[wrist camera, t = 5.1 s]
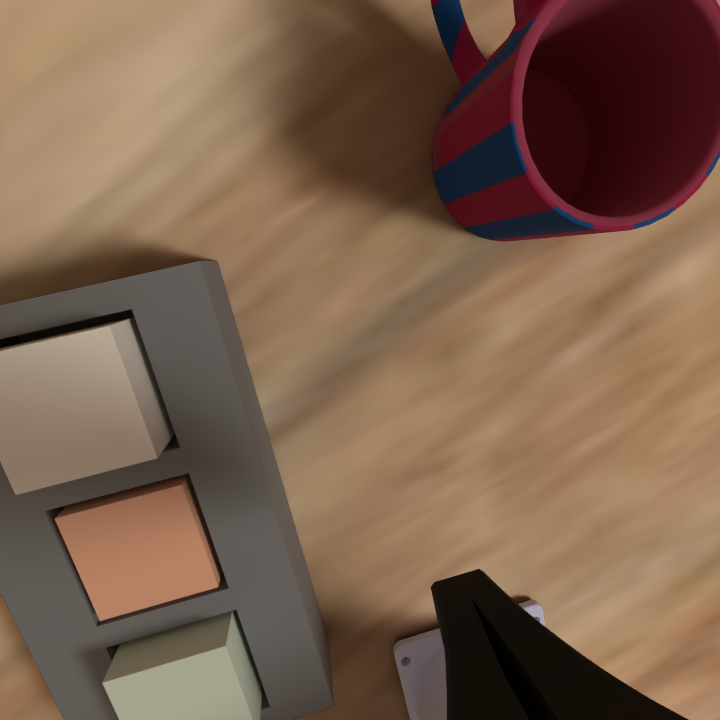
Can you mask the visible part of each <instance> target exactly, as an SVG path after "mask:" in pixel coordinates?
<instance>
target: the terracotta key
mask: <svg viewBox="0 0 720 720" xmlns="http://www.w3.org/2000/svg"><path fill="white" fill-rule="evenodd" d="M55 521H56V523H57V526H58V528H59V530H60V532H61V535H62V537H63V539H64V541H65V544H66V546H67V548H68V550H69V553H70V555H71V557H72V559H73V562H74V564H75V566H76V568H77V571H78V573H79V575H80V577H81V580H82V582H83V584H84V587H85V589H86V591H87V593H88V596H89V598H90V600H91V602H92V605H93V607H94V609H95V611H96V614H97V616H98V618H99V620H100V621H102V620H106V619H109V618H113V617H116V616H120V615H123V614H127V613H130V612H133V611H137V610H140V609H144V608H147V607H151V606H154V605H158V604H161V603H165V602H168V601H172V600H175V599H179V598H182V597H186V596H189V595H193V594H196V593H200V592H203V591H207V590H210V589H214V588H217V587H218V586H219V582H220V578H221V574H222V567H221V564H220V561H219V558H218V555H217V553H216V550H215V547H214V544H213V541H212V538H211V535H210V532H209V530H208V527H207V524H206V521H205V518H204V515H203V512H202V509H201V507H200V504H199V501H198V498H197V495H196V492H195V489H194V486H193V484H192V481H191V478H190V475H189V473H187V474H183V475H180V476H176V477H172V478H168V479H165V480H161V481H157V482H153V483H149V484H146V485H142V486H138V487H134V488H130V489H127V490H123V491H119V492H115V493H111V494H108V495H104V496H100V497H96V498H92V499H89V500H85V501H81V502H77V503H73V504H70V505H67V506H66V507H65V508H64V509H63V510H62V511H61V512H60V513H59V514H58V515H57V516H56V518H55Z"/></svg>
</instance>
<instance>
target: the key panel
mask: <svg viewBox="0 0 720 720" xmlns="http://www.w3.org/2000/svg"><path fill="white" fill-rule="evenodd" d="M132 317H135V320H136V323H137V326H138V329H139V331H140V334H141V337H142V340H143V343H144V346H145V349H146V351H147V354H148V357H149V360H150V363H151V366H152V369H153V372H154V374H155V377H156V380H157V383H158V386H159V389H160V392H161V395H162V397H163V400H164V403H165V406H166V409H167V412H168V415H169V418H170V420H171V423H172V426H173V429H174V432H175V434H174V436H173V437H172V438H171V440H170V441H169V443H168V444H167V446H166V447H165V448H164V450H163V451H162V453H161V454H160V456H159V457H158V458H157V459H153V460H149V461H145V462H142V463H138V464H134V465H130V466H126V467H122V468H118V469H115V470H111V471H107V472H103V473H99V474H95V475H91V476H88V477H84V478H80V479H76V480H72V481H68V482H64V483H61V484H57V485H53V486H49V487H45V488H41V489H37V490H33V491H30V492H26V493H22V494H18V495H15V493H14V490H13V488H12V486H11V484H10V482H9V480H8V477H7V475H6V473H5V471H4V469H3V467H2V464H1V462H0V593H1V595H2V597H3V599H4V601H5V603H6V605H7V607H8V609H9V611H10V613H11V615H12V617H13V619H14V621H15V623H16V625H17V627H18V629H19V631H20V633H21V635H22V637H23V639H24V641H25V643H26V645H27V647H28V649H29V651H30V653H31V655H32V657H33V659H34V661H35V663H36V665H37V667H38V669H39V671H40V673H41V675H42V677H43V679H44V681H45V683H46V685H47V687H48V689H49V691H50V693H51V695H52V697H53V699H54V701H55V703H56V705H57V707H58V709H59V711H60V713H61V715H62V717H63V719H64V720H119V718H118V716H117V714H116V712H115V710H114V707H113V705H112V703H111V701H110V699H109V697H108V694H107V692H106V690H105V688H104V686H103V684H102V682H103V680H104V678H105V676H106V674H107V671H108V669H109V667H110V665H111V663H112V661H113V658H114V656H115V654H116V652H117V650H118V647H119V645H120V643H124V642H127V641H131V640H134V639H138V638H141V637H144V636H148V635H151V634H155V633H158V632H162V631H165V630H168V629H172V628H175V627H179V626H182V625H185V624H189V623H192V622H196V621H199V620H203V619H206V618H209V617H213V616H216V615H220V614H223V613H226V612H230V611H233V610H237V613H238V616H239V619H240V621H241V624H242V627H243V630H244V633H245V636H246V639H247V642H248V644H249V647H250V650H251V653H252V656H253V659H254V662H255V665H256V667H257V670H258V673H259V676H260V679H261V682H262V685H263V688H262V701H261V713H260V720H294V719H297V718H300V717H303V716H306V715H310V714H313V713H316V712H319V711H322V710H325V709H328V708H332V707H334V699H333V687H332V676H331V664H330V652H329V641H328V637H327V634H326V631H325V627H324V624H323V620H322V617H321V613H320V610H319V607H318V603H317V600H316V596H315V593H314V590H313V586H312V583H311V579H310V576H309V572H308V569H307V566H306V562H305V559H304V555H303V552H302V548H301V545H300V542H299V538H298V535H297V531H296V528H295V525H294V521H293V518H292V514H291V511H290V507H289V504H288V501H287V497H286V494H285V490H284V487H283V484H282V480H281V477H280V473H279V470H278V466H277V463H276V460H275V456H274V453H273V449H272V446H271V442H270V439H269V436H268V432H267V429H266V425H265V422H264V419H263V415H262V412H261V408H260V405H259V401H258V398H257V395H256V391H255V388H254V384H253V381H252V378H251V374H250V371H249V367H248V364H247V360H246V357H245V354H244V350H243V347H242V343H241V340H240V337H239V333H238V330H237V326H236V323H235V319H234V316H233V313H232V309H231V306H230V302H229V299H228V295H227V292H226V289H225V285H224V282H223V278H222V275H221V272H220V268H219V265H218V261H197V262H193V263H188V264H184V265H179V266H175V267H170V268H166V269H161V270H157V271H152V272H148V273H143V274H139V275H134V276H130V277H125V278H121V279H116V280H112V281H107V282H103V283H98V284H94V285H89V286H85V287H80V288H76V289H71V290H67V291H62V292H58V293H53V294H49V295H45V296H40V297H36V298H31V299H27V300H22V301H18V302H13V303H9V304H4V305H0V348H2V347H7V346H11V345H15V344H20V343H24V342H28V341H33V340H37V339H41V338H46V337H50V336H54V335H59V334H63V333H67V332H72V331H76V330H80V329H85V328H89V327H93V326H98V325H102V324H106V323H111V322H115V321H119V320H124V319H128V318H132ZM187 473H189V475H190V478H191V481H192V484H193V486H194V489H195V492H196V495H197V498H198V501H199V504H200V507H201V509H202V512H203V515H204V518H205V521H206V524H207V527H208V530H209V532H210V535H211V538H212V541H213V544H214V547H215V550H216V553H217V555H218V558H219V561H220V564H221V567H222V574H221V578H220V582H219V586H218V587H217V588H214V589H210V590H207V591H203V592H200V593H196V594H193V595H189V596H186V597H182V598H179V599H175V600H172V601H168V602H165V603H161V604H158V605H154V606H151V607H147V608H144V609H140V610H137V611H133V612H130V613H127V614H123V615H120V616H116V617H113V618H109V619H106V620H102V621H100V620H99V618H98V616H97V614H96V611H95V609H94V607H93V605H92V602H91V600H90V598H89V596H88V593H87V591H86V589H85V587H84V584H83V582H82V580H81V577H80V575H79V573H78V571H77V568H76V566H75V564H74V562H73V559H72V557H71V555H70V553H69V550H68V548H67V546H66V544H65V541H64V539H63V537H62V535H61V532H60V530H59V528H58V526H57V523H56V521H55V518H56V516H57V515H58V514H59V513H60V512H61V511H62V510H63V509H64V508H65V507H66V506H67V505H70V504H73V503H77V502H81V501H85V500H89V499H92V498H96V497H100V496H104V495H108V494H111V493H115V492H119V491H123V490H127V489H130V488H134V487H138V486H142V485H146V484H149V483H153V482H157V481H161V480H165V479H168V478H172V477H176V476H180V475H183V474H187Z"/></svg>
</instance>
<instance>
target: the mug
mask: <svg viewBox="0 0 720 720" xmlns="http://www.w3.org/2000/svg"><path fill="white" fill-rule="evenodd" d="M513 3H514V14H515V22H516V24H515V26H514V28H513V30H512V32H511V33H510V35H509V37H508V38H507V39H506V40H505V41H504V43H503V44H502V45H501V46H500V47H499V48H498V49H497V50H496V51H495V52H494V53H493V54H492V55H491V56H490V57H489V58H488V59H487V60H486V59H485V57H484V56H483V55H482V53H481V52H480V50H479V49H478V47H477V45H476V43H475V41H474V39H473V37H472V35H471V33H470V31H469V29H468V26H467V23H466V21H465V18H464V15H463V12H462V8H461V4H460V1H459V0H431V5H432V10H433V14H434V17H435V21H436V24H437V27H438V30H439V34H440V37H441V39H442V42H443V44H444V47H445V49H446V52H447V54H448V56H449V59H450V61H451V63H452V66H453V68H454V70H455V72H456V74H457V76H458V77H459V79H460V81H461V82H462V83H461V86H460V89H459V90H458V91H457V93H456V94H455V95H454V96H453V97H452V99H451V100H450V102H449V103H448V105H447V107H446V108H445V110H444V112H443V114H442V116H441V118H440V121H439V123H438V126H437V129H436V133H435V137H434V142H433V152H432V162H433V173H434V178H435V183H436V187H437V189H438V192H439V194H440V197H441V199H442V201H443V203H444V204H445V206H446V208H447V209H448V211H449V212H450V213H451V215H452V216H453V217H454V218H455V219H456V220H457V221H458V222H459V223H460V224H461V225H462V226H464V227H465V228H466V229H468V230H469V231H471V232H473V233H475V234H476V235H478V236H480V237H484V238H487V239H490V240H495V241H516V240H528V239H539V238H550V237H561V236H572V235H583V234H594V233H606V232H616V231H626V230H633V229H636V228H640V227H643V226H646V225H650V224H652V223H654V222H656V221H658V220H660V219H662V218H664V217H666V216H668V215H669V214H670V213H672V212H673V211H674V210H676V209H677V208H679V207H680V206H681V205H683V204H684V203H685V202H686V201H687V200H688V199H689V198H690V197H691V196H692V195H693V194H694V193H695V192H696V191H697V190H698V189H699V188H700V187H701V185H702V184H703V182H704V181H705V180H706V178H707V177H708V176H709V174H710V173H711V172H712V170H713V168H714V167H715V165H716V163H717V161H718V159H719V157H720V6H719V5H718V3H717V1H716V0H513Z"/></svg>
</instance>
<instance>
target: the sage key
mask: <svg viewBox="0 0 720 720" xmlns="http://www.w3.org/2000/svg"><path fill="white" fill-rule="evenodd" d="M102 684H103V686H104V688H105V690H106V692H107V694H108V697H109V699H110V701H111V703H112V705H113V707H114V710H115V712H116V714H117V716H118V718H119V720H260V713H261V701H262V688H263V685H262V682H261V679H260V676H259V673H258V670H257V667H256V665H255V662H254V659H253V656H252V653H251V650H250V647H249V644H248V642H247V639H246V636H245V633H244V630H243V627H242V624H241V621H240V619H239V616H238V613H237V610H233V611H230V612H226V613H223V614H220V615H216V616H213V617H209V618H206V619H203V620H199V621H196V622H192V623H189V624H185V625H182V626H179V627H175V628H172V629H168V630H165V631H162V632H158V633H155V634H151V635H148V636H144V637H141V638H138V639H134V640H131V641H127V642H124V643H120V645H119V647H118V650H117V652H116V654H115V656H114V658H113V661H112V663H111V665H110V667H109V669H108V671H107V674H106V676H105V678H104V680H103V682H102Z"/></svg>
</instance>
